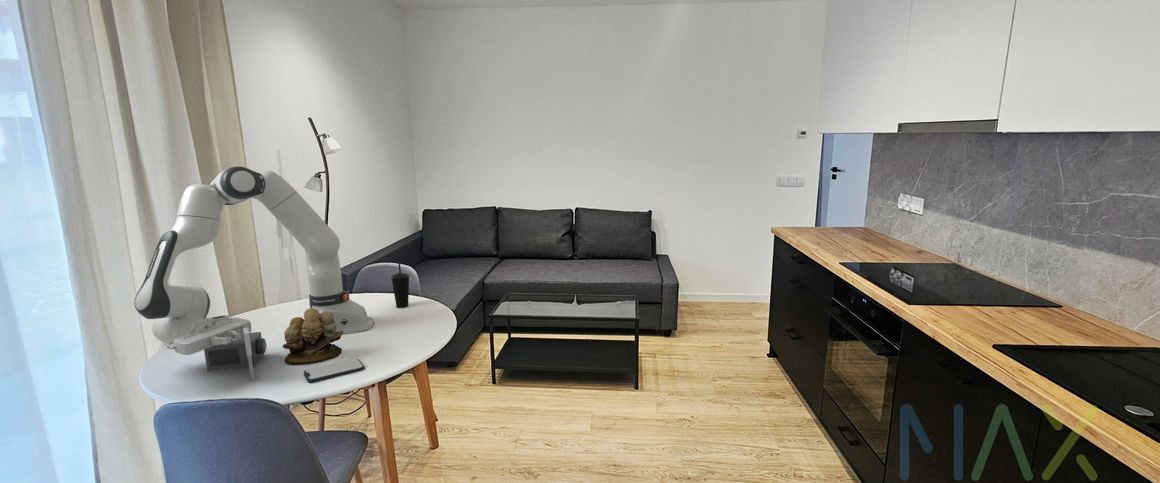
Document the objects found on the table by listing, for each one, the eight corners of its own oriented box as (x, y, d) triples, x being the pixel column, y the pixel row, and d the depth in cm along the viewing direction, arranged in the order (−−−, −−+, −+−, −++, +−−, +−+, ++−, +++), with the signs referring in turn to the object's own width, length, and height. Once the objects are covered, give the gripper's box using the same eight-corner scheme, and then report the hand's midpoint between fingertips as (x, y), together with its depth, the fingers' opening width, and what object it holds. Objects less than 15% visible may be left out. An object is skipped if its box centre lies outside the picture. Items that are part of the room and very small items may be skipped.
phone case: (358, 362, 167) (303, 374, 158) (357, 357, 167) (302, 369, 157) (365, 371, 160) (308, 385, 151) (365, 366, 160) (308, 380, 150)
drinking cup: (405, 309, 217) (402, 263, 213) (389, 308, 218) (385, 262, 214) (415, 304, 224) (412, 259, 220) (399, 303, 226) (395, 258, 222)
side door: (247, 367, 162) (241, 322, 159) (252, 366, 163) (246, 321, 160) (250, 382, 152) (244, 334, 149) (255, 380, 153) (249, 333, 150)
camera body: (270, 353, 172) (267, 329, 171) (261, 365, 163) (258, 340, 162) (219, 359, 168) (215, 334, 167) (207, 371, 159) (203, 345, 158)
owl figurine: (343, 345, 179) (339, 298, 176) (346, 358, 169) (342, 308, 166) (284, 355, 171) (278, 306, 168) (283, 369, 161) (277, 317, 157)
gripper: (161, 336, 145) (196, 341, 140) (230, 313, 164) (263, 317, 159) (164, 357, 146) (199, 363, 142) (232, 332, 165) (265, 337, 161)
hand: (233, 339), depth 151 cm, fingers closed
